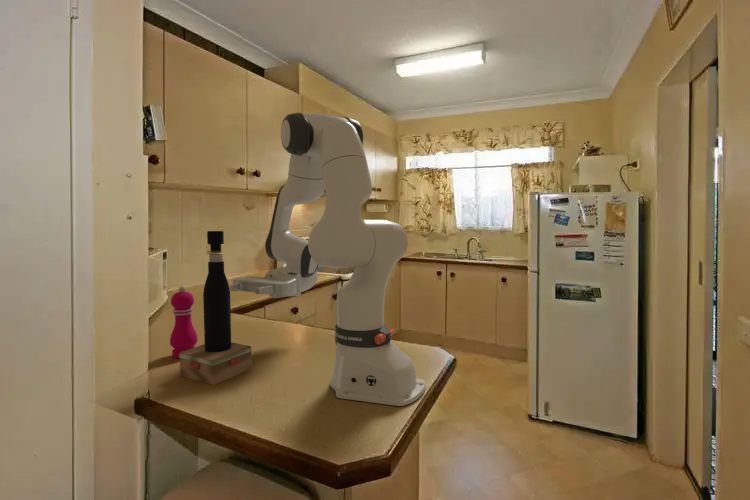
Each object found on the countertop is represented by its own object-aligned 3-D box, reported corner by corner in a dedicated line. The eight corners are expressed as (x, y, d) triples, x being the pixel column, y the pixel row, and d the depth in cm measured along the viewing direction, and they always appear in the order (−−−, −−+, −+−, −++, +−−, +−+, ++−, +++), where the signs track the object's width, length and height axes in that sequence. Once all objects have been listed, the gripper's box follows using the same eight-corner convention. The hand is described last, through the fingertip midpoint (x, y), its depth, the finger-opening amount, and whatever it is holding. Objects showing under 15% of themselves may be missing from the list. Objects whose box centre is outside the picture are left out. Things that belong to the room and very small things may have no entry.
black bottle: (236, 346, 106) (234, 231, 104) (218, 353, 100) (215, 231, 98) (218, 343, 109) (215, 230, 106) (198, 350, 103) (195, 231, 101)
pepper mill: (187, 360, 113) (185, 288, 112) (164, 358, 115) (162, 287, 113) (203, 351, 120) (201, 284, 119) (181, 350, 122) (179, 283, 120)
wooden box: (253, 369, 106) (252, 346, 106) (213, 386, 95) (213, 361, 95) (219, 361, 112) (218, 339, 112) (178, 376, 101) (177, 353, 101)
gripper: (252, 270, 128) (217, 275, 116) (304, 274, 119) (272, 281, 107) (252, 290, 129) (217, 297, 117) (305, 296, 120) (272, 305, 107)
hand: (244, 289), depth 112 cm, fingers open, 8 cm apart
